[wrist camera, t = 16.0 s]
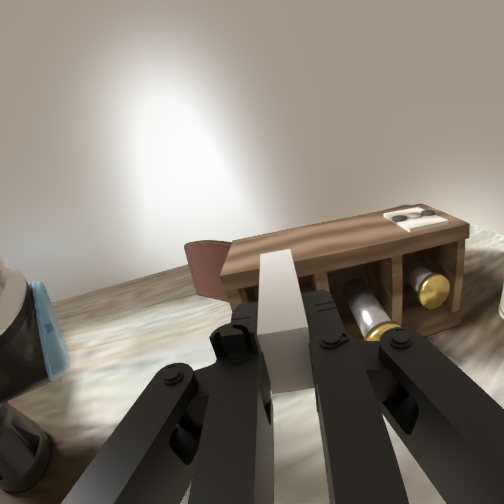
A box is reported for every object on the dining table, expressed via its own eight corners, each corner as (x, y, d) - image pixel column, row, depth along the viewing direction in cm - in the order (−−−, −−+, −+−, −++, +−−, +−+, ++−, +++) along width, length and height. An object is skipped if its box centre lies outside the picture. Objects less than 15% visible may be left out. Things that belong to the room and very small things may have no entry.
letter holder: (259, 309, 56) (242, 242, 51) (196, 295, 69) (179, 241, 64) (286, 286, 63) (274, 225, 58) (224, 277, 76) (210, 227, 71)
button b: (405, 356, 26) (409, 321, 25) (365, 368, 27) (365, 333, 25) (371, 300, 38) (369, 270, 37) (340, 307, 39) (336, 278, 38)
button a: (448, 303, 32) (450, 272, 30) (420, 313, 32) (421, 281, 31) (409, 267, 44) (409, 241, 43) (385, 273, 45) (384, 247, 43)
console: (460, 324, 34) (469, 217, 29) (251, 376, 38) (217, 269, 32) (423, 286, 47) (421, 199, 42) (254, 323, 51) (231, 235, 46)
